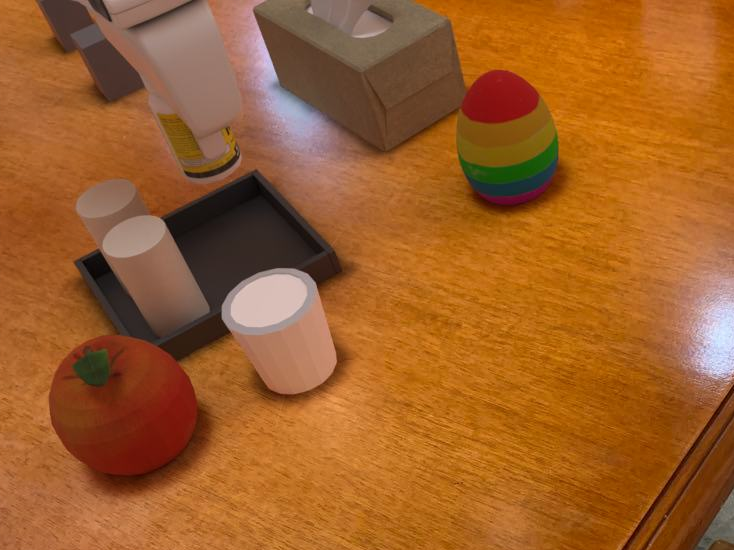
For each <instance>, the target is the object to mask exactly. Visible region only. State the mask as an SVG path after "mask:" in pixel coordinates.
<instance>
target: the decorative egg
mask: <svg viewBox="0 0 734 550" xmlns="http://www.w3.org/2000/svg"><path fill="white" fill-rule="evenodd" d="M466 92H467V93H466V95H465V97H464V99H463V102H462V104H461V107H459V110H458V115H457V119H456V128H455V129H456V130H455V143H456V144H455V145H456V153H457V157H458V161H459V164H460V167H461V170H462V172H463V174H464V176H465V178H466V180H467V182H468V183H469V185H470V186H471V187H472V189H473V190H474V191H475V192H476V193H477V194H478V195H479V196H481V197H482V198H483V199H484V200H486V201H487V202H490V203H492V204H494V205H499V206H516V205H521V204H526V203H528V202H530V201H533V200H534V199H536V198H538V197H540V196H541V195H542V194H544V193H545V192H546V190H547V189H548V188H549V186H550V184H551V182H552V181H553V178H554V176H555V174H556V171H557V166H558V163H559V162H558V161H559V152H560V147H559V146H560V145H559V143H560V142H559V137H558V136H559V135H558V130H557V127H556V124H555V120H554V118H553V115H552V113H551V110H550V109H549V106H548V105H547V102H546V101H545V100H544V98H543V97H542V95H541V94H540V93H539V92H538V91H537V89H536V88H535V87H534V85H532V84H531V83H530V82H528V81H527V80H526V79H525V78H524V77H522V76H520V75H519V74H517V73H515V72H512V71H510V70H506V69H493V70H489V71H486V72H484V73H483V74H481V75H479V77H478V78H476V79H475V80H474V82H473V83H472V84H471V86H470V87H469V88H468V90H467V91H466Z"/></svg>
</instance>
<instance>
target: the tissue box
mask: <svg viewBox="0 0 734 550" xmlns="http://www.w3.org/2000/svg"><path fill="white" fill-rule="evenodd" d="M252 12H253V15H254V18H255V21H256V23H257V26H258V29H259V31H260V35H261V37H262V40H263V43H264V45H265V47H266V50H267V53H268V55H269V59H270V61H271V64H272V66H273V69H274V72H275V74H276V77H277V79H278V83H279V85H280V87H281V88H283V89H284V90H286V91H288V92H289V93H291V94H293V95H294V96H296V97H297V98H299V99H300V100H301V101H303V102H305V103H307V104H308V105H309V106H311V107H312V108H314V109H315V110H318V111H319V112H321V113H322V114H324V115H325V116H327V117H329V119H331V120H333V121H335V122H337V123H338V124H340V125H341V126H343V127H344V128H346V129H348V130H349V131H350V132H352V133H353V134H355V135H356V136H358V137H360V138H362V139H363V140H365V141H366V142H367V143H369V144H371V145H372V146H374V147H375V148H377V149H379V150H380V151H382V152H384V153H385V152H389V151H390V150H392V149H393V148H395V147H396V146H398V145H400V144H402V143H403V142H405V141H406V140H408V139H410V138H411V137H413V136H414V135H416V134H418V133H420V132H421V131H423V130H425V129H426V128H428V127H429V126H431V125H433V124H434V123H436V122H438V121H439V120H441V119H443V118H444V117H446V116H447V115H449V114H451V113H453V112H454V111H456V110H457V109H460V107H461V104H462V102H463V99H464V97H465V95H466V93H467V92H468V91H467V88H466V83H465V78H464V74H463V70H462V65H461V61H460V56H459V51H458V47H457V41H456V38H455V34H454V29H453V24H452V19H450V18H448V17H446V16H444V15H441V14H440V13H438V12H436V11H434V10H432V9H429V8H428V7H426V6H423V5H421V4H419V3H417V2H415V1H413V0H264V1H261V2H260V3H259V4H256V5H255V6H253V8H252Z"/></svg>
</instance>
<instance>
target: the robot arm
mask: <svg viewBox="0 0 734 550" xmlns="http://www.w3.org/2000/svg"><path fill="white" fill-rule="evenodd" d="M72 1H77V2H79V3H81V4H82V5H84V6H86V8H87V10H88V12H89V14H90V15H92V18H93V20H94V21H95V23H97V24H98V26H99V28H100V30H101V31H102V33H103V34H104V36H105V37H106V38H107V40H108V41H109V42H110V43H111V44H112V45H113V46H114V47H115V48H116V49H117V50H118V51H119V53H120V54H121V55H122V56H123V57H124V58H125V59H126V60H127V61H128V62H129V63H130V64H131V66H132V67H133V68H134V69H135V70H136V71H137V72H138V73H139V71H140V72H141V74H142V75H143V76H144V77H145V78H146V80H147V82H148V83H149V84H150V86H151V87H152V88H153V89H154V90H155V92H156V93H157V94H158V95H159V96H160V97H161V98H162V99H163V100H164V101H165V102H166V103H167V105H168V106H169V107H170V108H171V109H172V110H173V111H174V112H175V113H176V114H177V115H178V116H179V118H180V119H181V120H182V121H183V122H184V123H185V124H186V125H187V126H188V127H189V128H190V129H191V132H190V133H191V135H192V137H193V140H194V141H195V143H196V146H197V148H198V149H199V151H200V152H201V153H202V154H203V155H204V156H205V157H206V158H207V159H211V160H212V159H214V158H216V157H218V156H220V155H222V154H224V153H225V152H226V150H227V145H226V142H225V140H224V138H223V136H222V133H221V131H220V130H222V129H224V128H226V127H228V126H232V125H234V124H236V123H238V122H240V120H242V118H244V117H243V116H244V101H243V96H242V92H241V89H240V86H239V83H238V79H237V76H236V73H235V70H234V68H233V64H232V62H231V59H230V55H229V52H228V50H227V47H226V43H225V41H224V38H223V36H222V33H221V30H220V27H219V24H218V22H217V19H216V17H215V15H214V13H213V11H212V9H211V6H210V4H209V3H208V1H207V0H72Z"/></svg>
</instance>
